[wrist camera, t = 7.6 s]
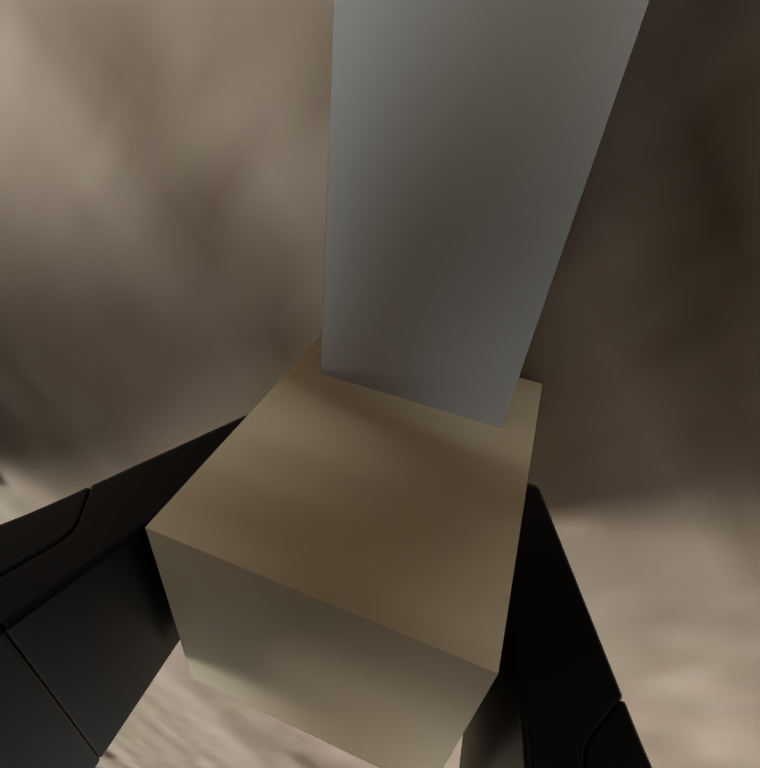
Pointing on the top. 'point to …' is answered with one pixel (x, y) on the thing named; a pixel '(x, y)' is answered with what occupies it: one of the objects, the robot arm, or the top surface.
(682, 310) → the top surface
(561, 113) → the beige block with post
